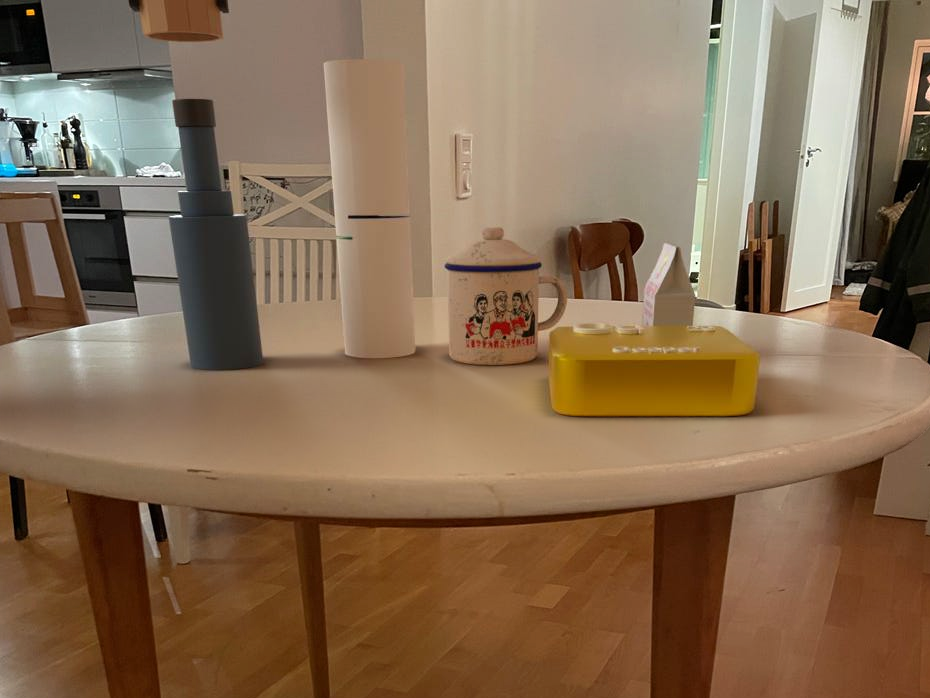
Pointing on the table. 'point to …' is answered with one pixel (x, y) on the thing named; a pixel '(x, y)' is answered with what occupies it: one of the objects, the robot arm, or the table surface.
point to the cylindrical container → (371, 205)
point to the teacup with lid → (496, 302)
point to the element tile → (651, 371)
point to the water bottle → (212, 253)
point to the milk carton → (668, 292)
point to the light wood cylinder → (181, 20)
